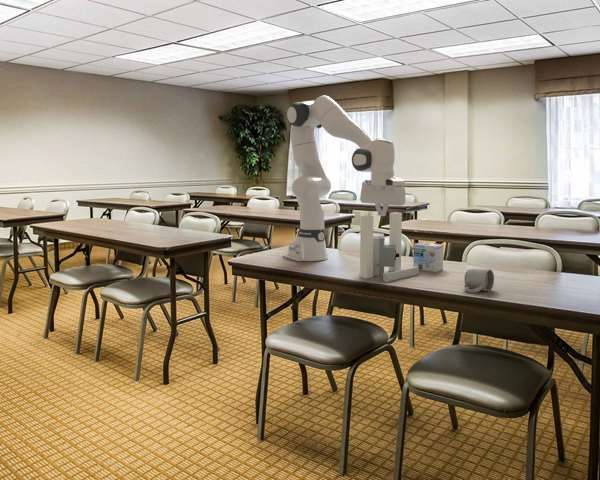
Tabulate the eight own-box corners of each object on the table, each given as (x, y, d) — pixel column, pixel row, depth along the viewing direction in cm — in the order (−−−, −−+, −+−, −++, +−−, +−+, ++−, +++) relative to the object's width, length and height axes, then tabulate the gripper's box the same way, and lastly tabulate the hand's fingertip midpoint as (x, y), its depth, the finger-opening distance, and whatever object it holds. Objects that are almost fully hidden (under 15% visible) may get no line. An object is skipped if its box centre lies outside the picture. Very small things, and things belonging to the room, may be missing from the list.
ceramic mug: (472, 285, 192) (472, 265, 191) (494, 289, 186) (495, 268, 185) (458, 291, 184) (458, 270, 183) (480, 295, 179) (481, 273, 178)
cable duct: (382, 281, 201) (383, 273, 200) (414, 273, 214) (414, 266, 214) (387, 281, 199) (387, 274, 199) (418, 274, 213) (418, 266, 212)
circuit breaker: (398, 276, 209) (399, 238, 207) (362, 275, 212) (362, 237, 210) (399, 272, 216) (399, 236, 214) (364, 271, 219) (364, 235, 217)
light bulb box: (412, 268, 224) (413, 243, 222) (420, 266, 228) (421, 241, 227) (435, 272, 216) (436, 246, 215) (443, 269, 221) (444, 244, 220)
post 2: (388, 270, 220) (389, 212, 217) (394, 269, 223) (395, 212, 219) (395, 271, 218) (396, 213, 214) (400, 270, 220) (401, 212, 217)
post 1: (360, 277, 208) (360, 216, 205) (365, 275, 211) (366, 215, 207) (366, 278, 206) (367, 216, 202) (372, 277, 208) (373, 216, 205)
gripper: (357, 180, 214) (356, 214, 216) (398, 181, 199) (397, 218, 201) (367, 179, 218) (366, 213, 221) (408, 181, 204) (407, 217, 206)
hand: (381, 215), depth 211 cm, fingers closed
